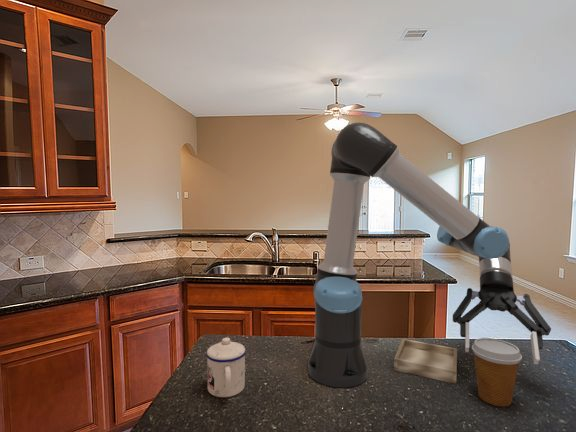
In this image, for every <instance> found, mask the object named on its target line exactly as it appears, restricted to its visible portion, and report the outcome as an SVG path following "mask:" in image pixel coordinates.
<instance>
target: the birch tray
mask: <svg viewBox="0 0 576 432" xmlns="http://www.w3.org/2000/svg"><path fill="white" fill-rule="evenodd" d="M457 366H458V348H456V347H450V346H446V345H445V346H444V345H439V344H434V343H429V342H423V341H417V340H410V339H406V338H401V342H400V344H399V346H398V348H397V352H396V353H395V355H394V358H393V371H396V372H400V373H405V374H409V375H414V376H418V377H422V378H427V379H433V380H437V381H439V382H445V383H450V384H454V385H457V377H458V376H457V373H458V372H457V371H458V370H457V369H458V367H457Z"/></svg>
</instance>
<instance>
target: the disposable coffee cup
mask: <svg viewBox="0 0 576 432" xmlns="http://www.w3.org/2000/svg"><path fill="white" fill-rule="evenodd" d="M471 350H472V352H473V354H474V355H473V356H474V366H475V367H474V368H475V373H476V382H477V383H476V384H477V394H478V396H479V398H480V399H481V400H483V401H484V402H486V403H487V404H490V405H493V406H497V407H510V405H511V404H512V402H513V398H514V397H513V396H514V391H515V386H516V381H517V377H518V371H519V370H518V369H519V366H520V362H521V360H522V359H523V356H522V353H521V351H520V348H518V346H517V345H515V344H512V343H511V342H508V341H505V340H502V339H498V338H491V337H481V338H480V337H479V338H476V339H475V340H474V341H473V344H472V345H471Z"/></svg>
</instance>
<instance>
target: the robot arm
mask: <svg viewBox="0 0 576 432" xmlns="http://www.w3.org/2000/svg"><path fill="white" fill-rule="evenodd" d="M335 138H336V139H335V140H334V142H333V144H332V147H331V162H330V171H329V176H331V178H332V179H333V188H332V193H331V194H332V196H331V203H330V211H329V219H328V225H327V234H326V241H325V248H324V256H323V261H322V262H320V264H318V265H317V268H316V269H317V271H316V277H315V283H314V284H313V297H314V310H315V311H314V314H315V316H314V320H315V321H314V326H315V327H314V333H315V336H314V344H313V346H312V349H311V352H310V355H309V358H308V362H307V373H308V376H310V377H311V379H312V380H314V381H316V382H317V383H319V384H321V385H323V386H328V387H332V388H352V387H356V386H359V385H361V384H364V382H365V381H367V379H368V377H369V376H368V375H369V373H368V372H369V368H368V366H369V365H368V362H367V359H366V356H365V353H364V350H363V346H362V302H363V294H362V287H361V285H360V284H359V282H358V281H357V278H358V277H357V276H358V271H357V269H355V267H354V259H355V252H356V245H357V238H358V230H359V222H360V216H361V210H362V209H361V208H362V200H363V194H364V186H365V183H367V182H368V181H370V180H371V178H379V179H381V180H382V181H383V182H384V183H385V184H387V186H389V187H390V188H392V189H393V190H394V191H396V192H397V193H398V194H399V195H400V196H402V197H403V198H404V199H405V200H406V201H408V202H409V203H410V204H412V205H413V206H414V207H415V208H416V209H418V210H419V211H420V212H422V213H423V214H424V215H425V216H426V217H428V218H429V219H430V220H432V221H433V222H434V223H435V224H437V225H438V226H439V227H438V229H437V233H436V238H437V241H438V242H439V243H442V244H444V245H446V246H447V247H448V246H449V247H452V248H454V249H456V250H459V251H463V252H465V253H468V254H470V255H473V256H476V257H478V263H479V264H478V265H479V267H478V268H479V291H477V290H476V291H475V290H473V289H472V288H471V287H469V288H467V290H466V296H464V298H463V299H462V301H461V302H460V304H459V305H458V307H457V308H456V310H455V311H454V312H453V314H452V322H453V323H457V324H459V326H460V327H459V334H460V337H461V338H465V339H464V341H465V343H464V344H465V346H464V347H465V349H464V350H465V352H464V353H470V322H471V321H472V320H473V319H475V318H476V317H477V316H478V315H480V314H481V313H482V312H484V311H485V310H487V309H489V310H490V311H500V312H506V311H507V312H508V313H509V314H511V316H514V317H515V318H516V319H517V321H519V322H520V323H521V324H522V325H523V326H524V328H526V329H527V330H528V331H529V332H530V333H531V334H530V344H531V352H532V361H533V365H539V363H540V362H541V361H540V360H541V358H540V357H541V356H540V351H541V350H543V347H544V342H543V340H544V339H543V336H549V335H550V333H551V331H552V328H551V327H550V325H549V324H548V322H547V321H546V320H545V319H544V317H543V316H542V314H541V313H540V312H539V310H538V309H537V308H536V306H535V305H534V304H533V302H532V300H531V299H532V298H531V296H530V295H529V294H528V293H524V295H516V293H515V289H514V280H513V271H512V269H513V268H512V262H511V260H512V259H511V243H510V238H509V235H508V233H507V231H506V230H505V229H503V228H501V227H498V226H491V225H489V224H488V223H487V222H485V221H484V220H483V219H482V218H480V217H479V216H478V215H477V214H476V213H474V212H473V211H472V210H470V209H469V208H468V207H467V206H465V205H464V204H463V203H462V202H460V201H459V200H458V199H457V198H455V197H454V196H453V195H451V194H450V192H448V191H447V190H445V189H444V187H442V186H441V185H439V184H438V183H437V182H435V181H434V180H433V179H432V178H430V177H429V176H428V175H427V174H426V173H425V172H423V171H422V170H421V169H420V168H418V167H417V166H416V165H415V164H413V163H412V162H411V161H410V160H409V159H408V158H406V157H404V155H402V154H401V153H400V151H399V150H400V149H399V146H398V145H397V144H395V143H394V142H393V141H391V139H389V138H388V137H387V136H386V135H385V134H383V133H382V132H381V131H380V130H378V129H377V128H375V127H374V126H372V125H371V124H368V123H365V122H353V123H349V124H348V125H345V126H344V127H343V128H342V129H341V130H340V132H339V133H338V134H337V136H336V137H335ZM476 298H478V300H479V302H478V303H477V304H476V305H475V306H474V307H472V308H471V309H470V310H469V311H467V312H466V313H465V311H466V310H467V308H468V307H469V305H471V302H472V301H473V300H475V299H476ZM516 302H518V303H520V305H522V306H523V307H524V310H525V311H526V312H527V314H528V315H529V316H530V317H529V316H528V315H527V314H526V313H525V312H523V311H522V310H521V309H520V308H519V306H518V305H517V304H516ZM464 313H465V314H464ZM539 350H540V351H539Z"/></svg>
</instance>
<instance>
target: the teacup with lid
mask: <svg viewBox="0 0 576 432" xmlns="http://www.w3.org/2000/svg"><path fill="white" fill-rule="evenodd" d="M246 352H247V351H246V347H245V346H244V345H243V344H242V343H239V342H236V341H232V340H231V338H230V337H223V338H222V339H221V341H220V342H217V343H215V344H212V345H211V346H210V347H208V348H207V351H206V355H205V356H206V357H207V359H206V360H207V367H206V368H207V369H206V370H207V375H206V376H207V391H208V393H210V394H211V395H212V396H214V397H217V398H229V397H233V396H236V395H238V394H240V393H241V392H242V391H243V390H244V389H245V386H246V384H245V383H246V376H245V375H246V361H245V359H246V356H245V355H246Z"/></svg>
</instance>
